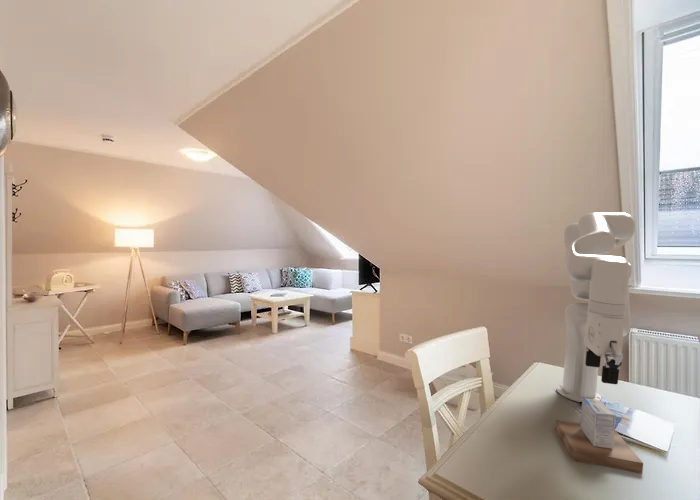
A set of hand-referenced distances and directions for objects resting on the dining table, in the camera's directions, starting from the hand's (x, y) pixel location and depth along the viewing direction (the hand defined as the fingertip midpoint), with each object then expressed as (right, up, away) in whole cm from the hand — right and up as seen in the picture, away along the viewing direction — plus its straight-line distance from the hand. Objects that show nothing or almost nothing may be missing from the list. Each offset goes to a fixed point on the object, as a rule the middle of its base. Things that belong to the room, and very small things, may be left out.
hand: (600, 374), depth 87 cm
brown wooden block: (-1, -19, +1) cm, 19 cm away
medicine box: (-1, -17, +1) cm, 17 cm away
